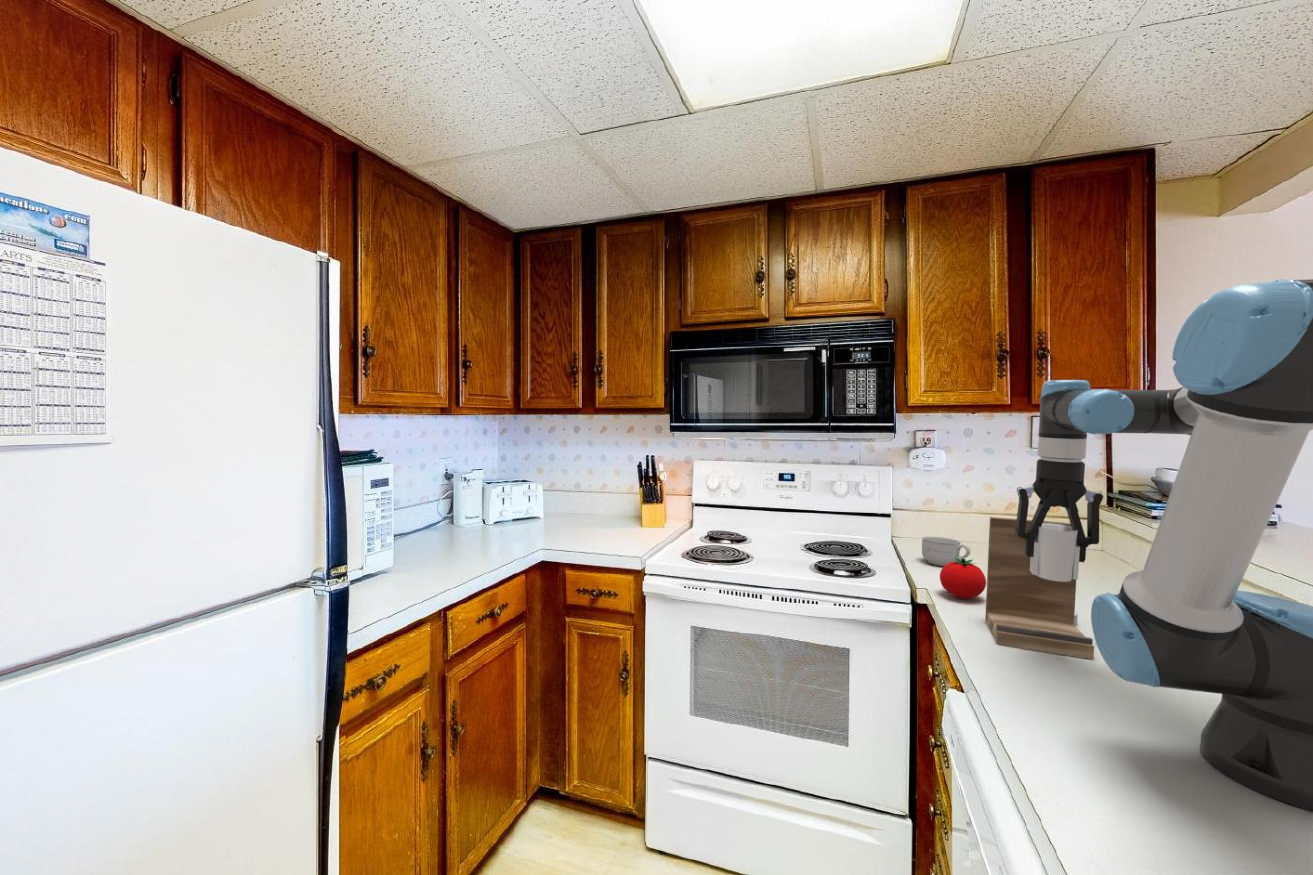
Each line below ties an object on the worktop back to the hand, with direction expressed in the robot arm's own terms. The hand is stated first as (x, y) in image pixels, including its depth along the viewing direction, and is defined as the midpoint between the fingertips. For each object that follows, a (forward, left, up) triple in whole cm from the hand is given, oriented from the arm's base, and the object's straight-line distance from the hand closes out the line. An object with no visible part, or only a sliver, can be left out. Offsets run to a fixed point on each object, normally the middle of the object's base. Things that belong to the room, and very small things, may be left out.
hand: (1053, 574), depth 105 cm
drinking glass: (0, 0, -1) cm, 1 cm away
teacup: (+60, +13, -16) cm, 63 cm away
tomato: (+29, +12, -16) cm, 35 cm away
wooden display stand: (+7, +1, -16) cm, 17 cm away
